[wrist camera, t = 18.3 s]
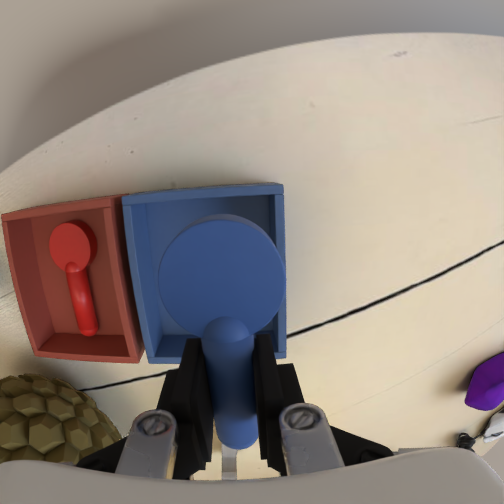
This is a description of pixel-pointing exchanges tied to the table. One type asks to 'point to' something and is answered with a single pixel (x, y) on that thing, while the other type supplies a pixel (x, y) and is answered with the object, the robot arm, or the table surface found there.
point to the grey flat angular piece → (229, 463)
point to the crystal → (487, 385)
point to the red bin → (56, 287)
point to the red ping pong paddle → (76, 268)
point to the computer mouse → (485, 432)
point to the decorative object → (50, 421)
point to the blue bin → (168, 227)
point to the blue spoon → (225, 309)
